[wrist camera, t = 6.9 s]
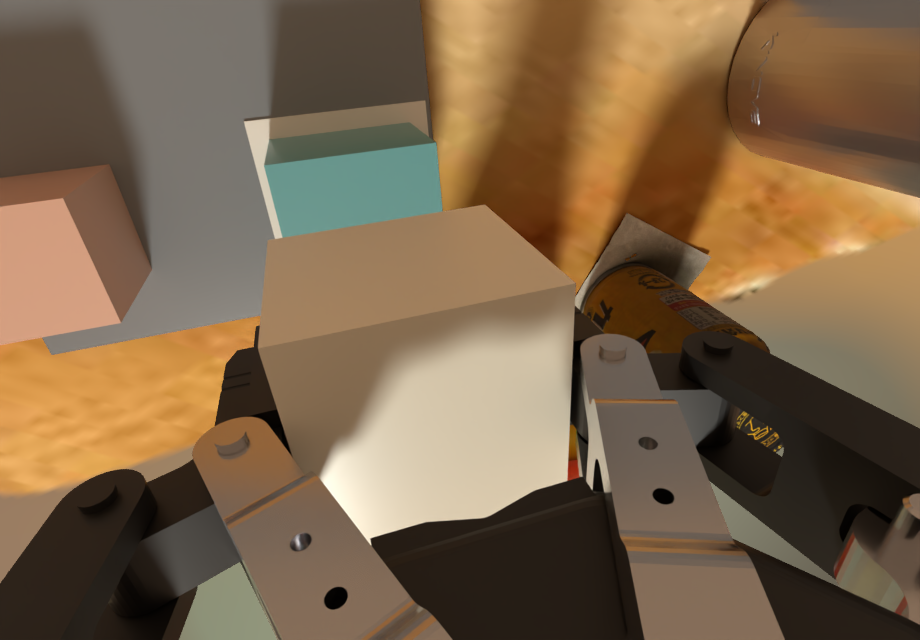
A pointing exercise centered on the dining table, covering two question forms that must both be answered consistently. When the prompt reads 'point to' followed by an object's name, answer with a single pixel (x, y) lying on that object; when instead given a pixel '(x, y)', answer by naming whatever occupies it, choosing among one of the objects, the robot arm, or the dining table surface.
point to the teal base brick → (352, 177)
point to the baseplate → (197, 123)
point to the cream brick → (420, 365)
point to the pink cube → (66, 253)
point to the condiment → (659, 300)
